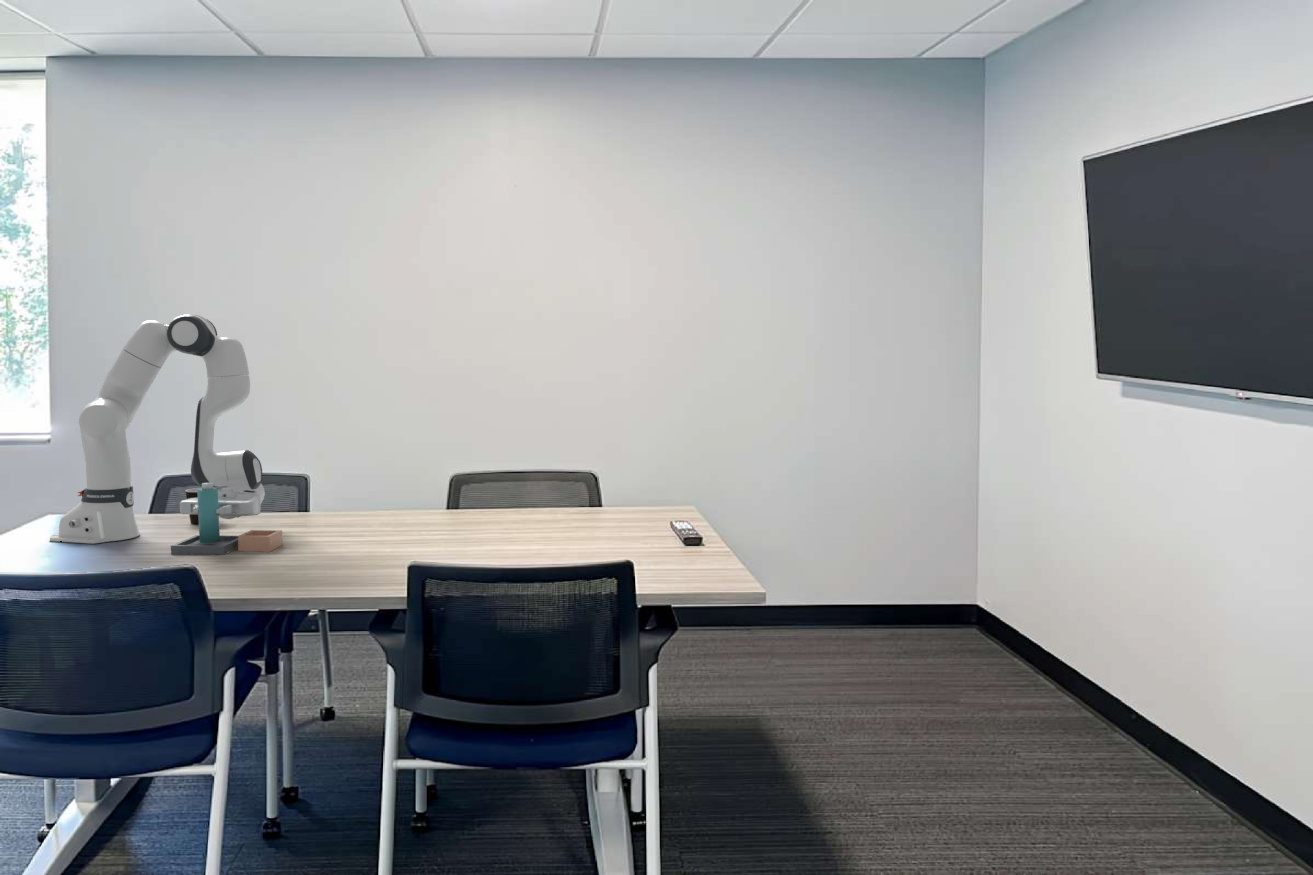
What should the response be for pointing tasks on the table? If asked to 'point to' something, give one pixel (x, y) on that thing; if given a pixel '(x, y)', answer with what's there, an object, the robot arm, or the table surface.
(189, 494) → the coffee mug
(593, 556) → the table surface
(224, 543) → the tray
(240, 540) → the orange open box
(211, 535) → the bottle
